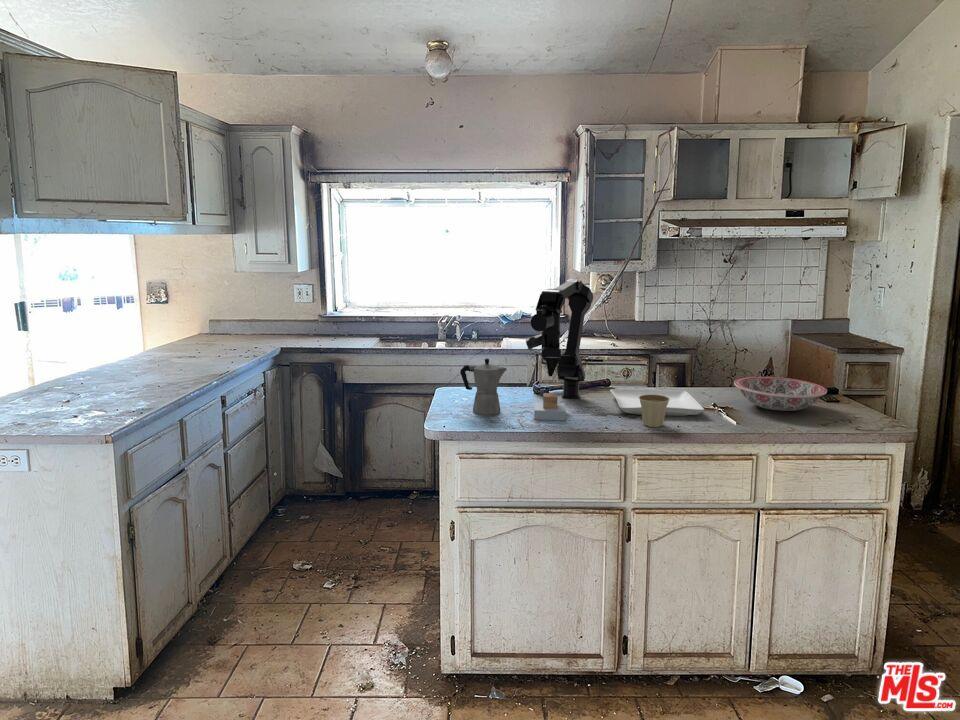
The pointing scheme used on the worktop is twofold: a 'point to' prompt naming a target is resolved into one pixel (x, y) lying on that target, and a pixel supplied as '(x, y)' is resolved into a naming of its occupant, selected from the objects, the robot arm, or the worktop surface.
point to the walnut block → (550, 400)
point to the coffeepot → (485, 387)
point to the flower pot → (653, 409)
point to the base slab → (549, 412)
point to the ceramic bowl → (780, 392)
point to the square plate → (679, 400)
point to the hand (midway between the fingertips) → (550, 373)
